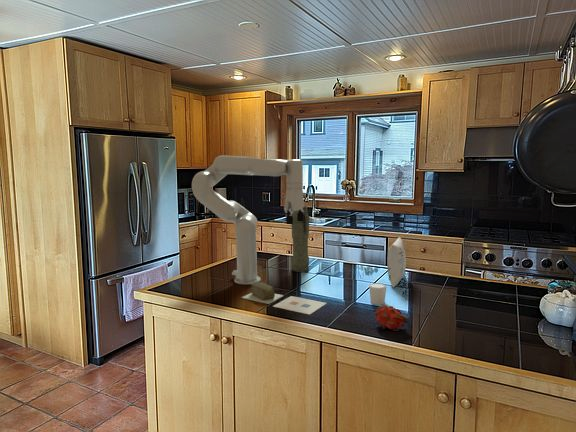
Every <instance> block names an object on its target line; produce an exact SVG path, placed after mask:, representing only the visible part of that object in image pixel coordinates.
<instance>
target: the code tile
mask: <svg viewBox="0 0 576 432" xmlns="http://www.w3.org/2000/svg"><path fill="white" fill-rule="evenodd" d="M325 305H327V302H324V301H323V302H322V301H318V300H313V299H308V298H304V297H298V296H292V295H290V296H289V297H286V298H284V299H283V300H281V301H280V302H278V303H275V304H274V305H272V307H273V308H278V309H283V310H287V311H291V312H295V313H299V314H300V313H301V314H303V315H309V316H310V315H311V314H313V313H314V312H316V311H318V310H320V309H321V308H322V307H323V306H325Z"/></svg>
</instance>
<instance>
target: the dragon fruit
mask: <svg viewBox="0 0 576 432" xmlns="http://www.w3.org/2000/svg"><path fill="white" fill-rule="evenodd" d="M374 316H375V317H374V321H375V322H377V323H379V324H380V325H381V327H382V330H385V329H386V328H388V329H390V330H391V331H395V332H396V331H397V332H398V331H400V329H399V328H402V327H405V326H406V324H407V323H408V324H409V321H408V320H409V319H408V318H407V316H405V315H404V314H402V311H401V310H400V309H398V308H397V309H396V308H395V307H394V306H392V305H389V306H388V305H387V304H382V306H381V305H380V306H378V307H377V308H376V309H375V312H374Z"/></svg>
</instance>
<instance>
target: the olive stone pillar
mask: <svg viewBox="0 0 576 432" xmlns="http://www.w3.org/2000/svg"><path fill="white" fill-rule="evenodd" d="M297 213H298V211H293V214H292V216H293V224H292V225H291V239H292V257H291V265H292V271H293V272H296V273H304V272H308V271H309V270H310V268H309V266H310V256H309V254H308V253H309V237H310V236H309V235H310V215H309V214H308V206H307V204H306V203H305V209H304V221H303V222H302V221H297Z"/></svg>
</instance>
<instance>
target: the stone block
mask: <svg viewBox="0 0 576 432" xmlns="http://www.w3.org/2000/svg"><path fill="white" fill-rule="evenodd" d="M250 293H252V294H254V295H255V296H257V297H259V298H261V299H265V300H266V299H272V298H274V296H275V294H276V293H275V288H274V286H271V285H269V284H268V283H265V282H263V281H260V282H258V283H253V284H250Z"/></svg>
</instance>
